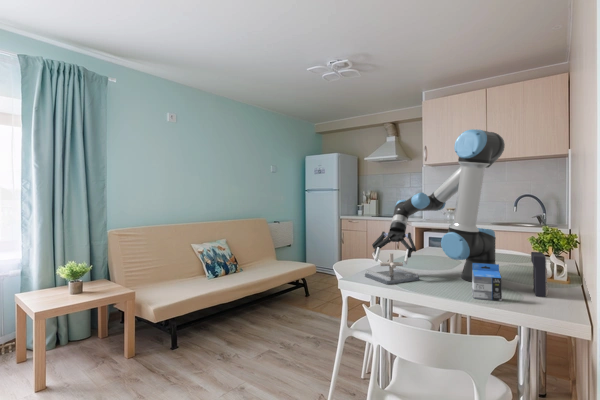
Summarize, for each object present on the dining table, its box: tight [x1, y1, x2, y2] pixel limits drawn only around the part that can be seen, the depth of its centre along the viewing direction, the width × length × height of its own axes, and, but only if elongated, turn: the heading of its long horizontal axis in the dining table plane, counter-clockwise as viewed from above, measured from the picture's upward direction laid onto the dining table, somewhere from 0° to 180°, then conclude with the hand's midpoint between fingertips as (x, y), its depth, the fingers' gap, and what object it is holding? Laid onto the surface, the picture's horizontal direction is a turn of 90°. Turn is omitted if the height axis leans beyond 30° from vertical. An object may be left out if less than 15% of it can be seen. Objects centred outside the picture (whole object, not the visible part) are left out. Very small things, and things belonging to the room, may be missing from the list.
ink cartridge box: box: [471, 263, 503, 302], centre depth 118 cm, size 9×4×12 cm, turn 70°
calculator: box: [530, 251, 549, 298], centre depth 124 cm, size 11×4×15 cm, turn 148°
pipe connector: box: [379, 252, 404, 275], centre depth 149 cm, size 10×10×10 cm
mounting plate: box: [364, 267, 420, 285], centre depth 149 cm, size 16×18×3 cm
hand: (390, 261), depth 148 cm, fingers open, 13 cm apart
